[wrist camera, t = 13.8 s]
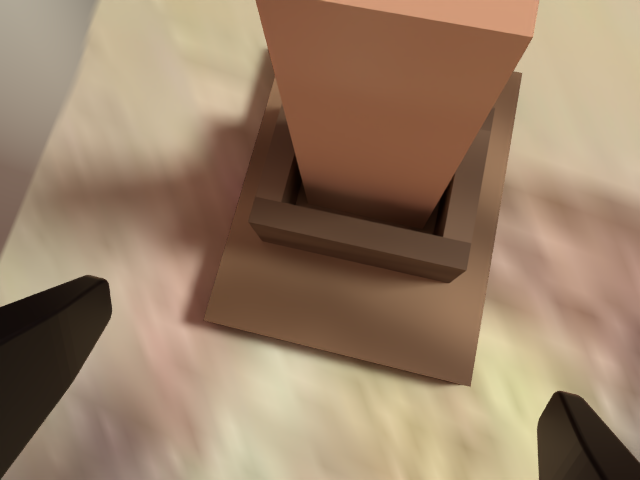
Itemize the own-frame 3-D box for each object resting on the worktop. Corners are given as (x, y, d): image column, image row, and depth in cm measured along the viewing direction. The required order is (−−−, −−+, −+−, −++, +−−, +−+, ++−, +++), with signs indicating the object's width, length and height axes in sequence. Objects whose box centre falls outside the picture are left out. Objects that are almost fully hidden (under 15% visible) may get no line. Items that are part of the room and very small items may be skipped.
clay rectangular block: (422, 229, 20) (533, 36, 8) (308, 203, 21) (252, -12, 9) (433, 176, 21) (552, -76, 9) (321, 153, 21) (286, -115, 9)
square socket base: (463, 384, 20) (492, 391, 16) (211, 322, 21) (178, 313, 17) (513, 87, 23) (549, 28, 19) (291, 47, 24) (279, -16, 20)
